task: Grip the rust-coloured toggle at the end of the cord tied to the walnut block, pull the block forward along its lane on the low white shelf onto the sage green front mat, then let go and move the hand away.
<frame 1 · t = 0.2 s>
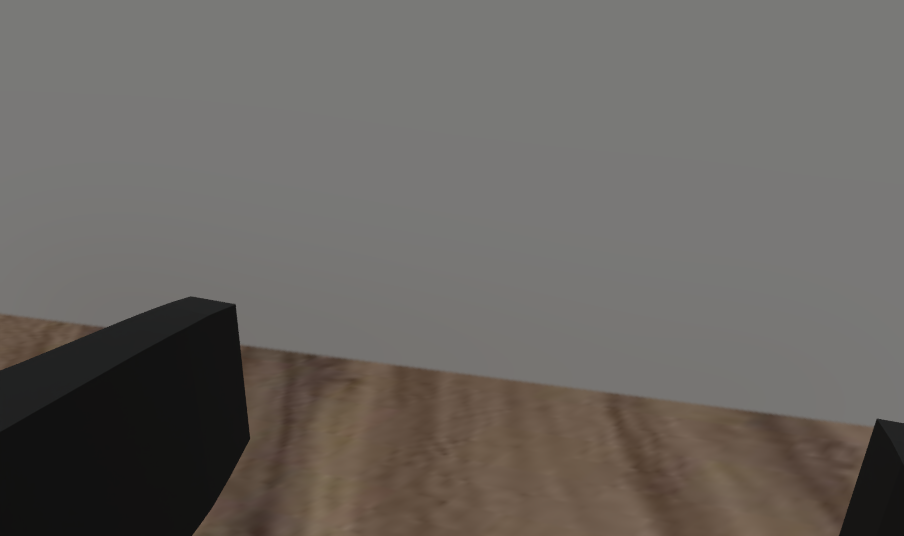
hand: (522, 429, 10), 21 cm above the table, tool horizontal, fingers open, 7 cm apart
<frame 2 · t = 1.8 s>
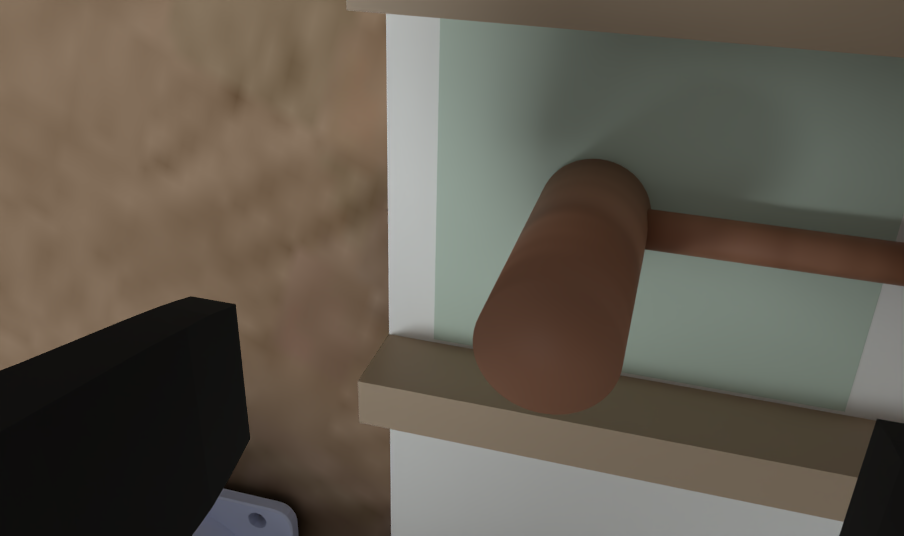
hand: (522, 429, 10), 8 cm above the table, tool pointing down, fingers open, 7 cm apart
shelf: (830, 399, 17), on the table
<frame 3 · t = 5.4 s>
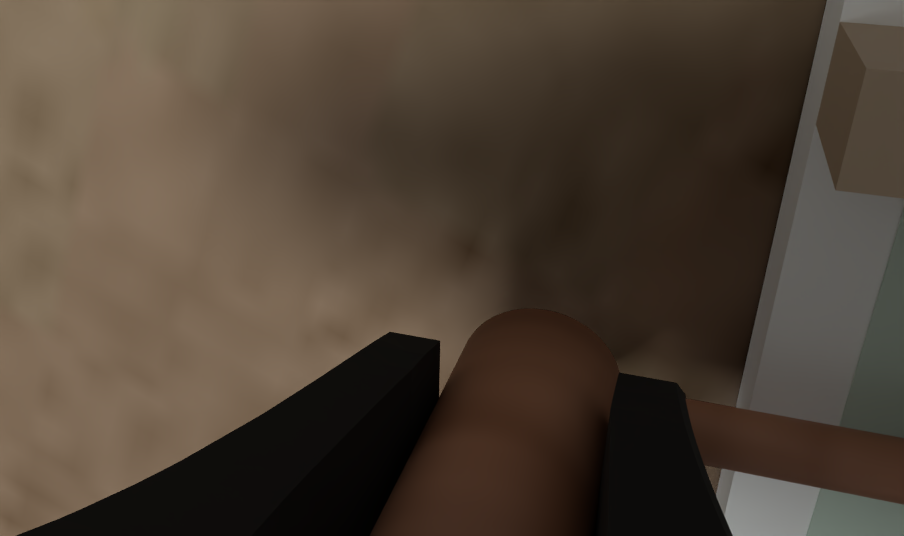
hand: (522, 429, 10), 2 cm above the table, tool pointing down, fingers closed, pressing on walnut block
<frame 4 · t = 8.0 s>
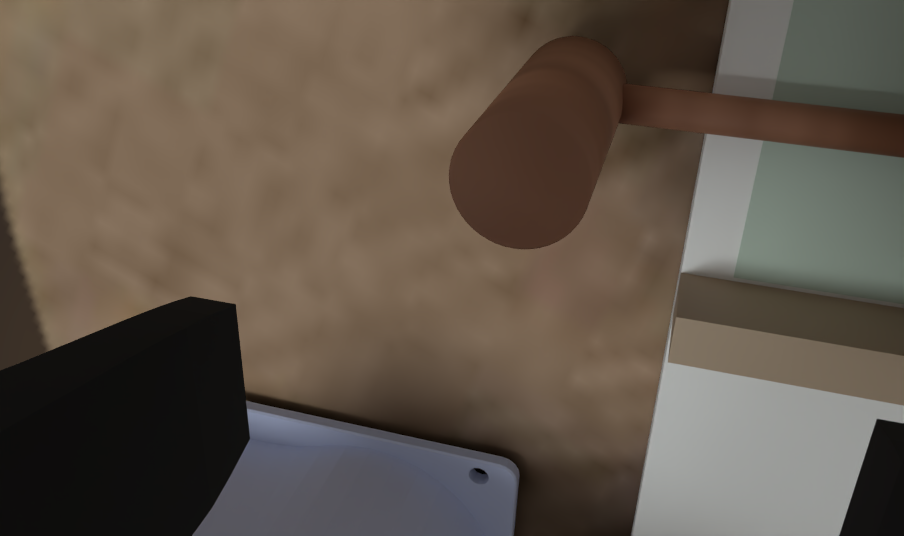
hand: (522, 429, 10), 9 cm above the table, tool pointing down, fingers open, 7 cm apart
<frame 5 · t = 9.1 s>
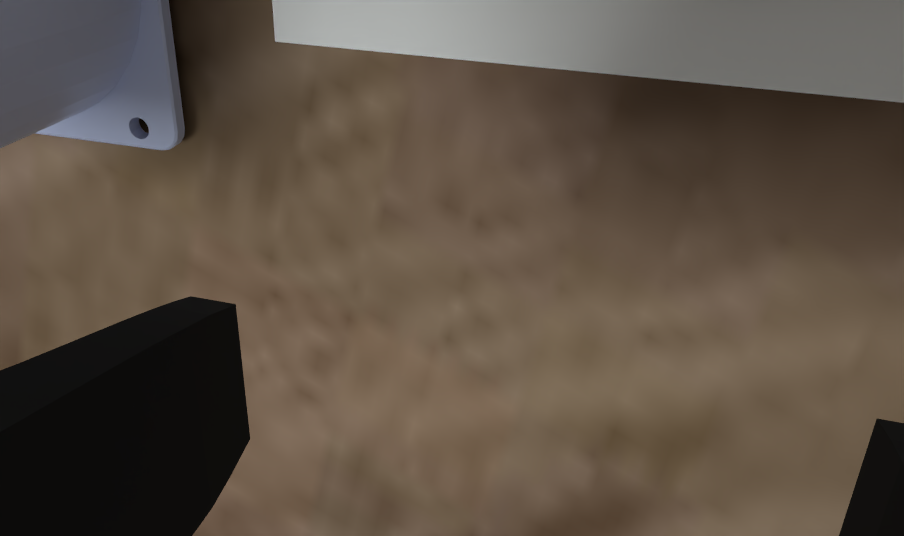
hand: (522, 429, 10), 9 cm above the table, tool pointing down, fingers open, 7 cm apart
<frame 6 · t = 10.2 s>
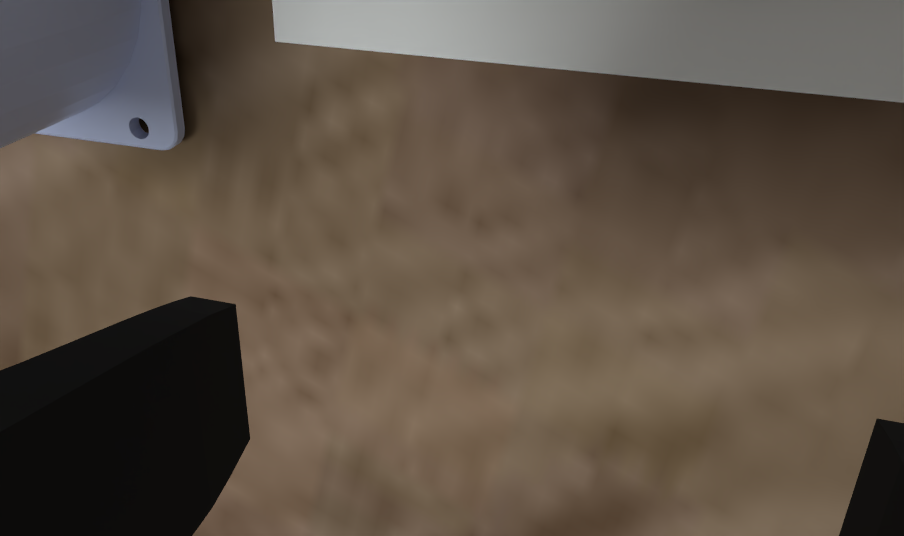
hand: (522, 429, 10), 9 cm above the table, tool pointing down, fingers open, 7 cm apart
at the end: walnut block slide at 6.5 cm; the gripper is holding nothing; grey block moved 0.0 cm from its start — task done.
